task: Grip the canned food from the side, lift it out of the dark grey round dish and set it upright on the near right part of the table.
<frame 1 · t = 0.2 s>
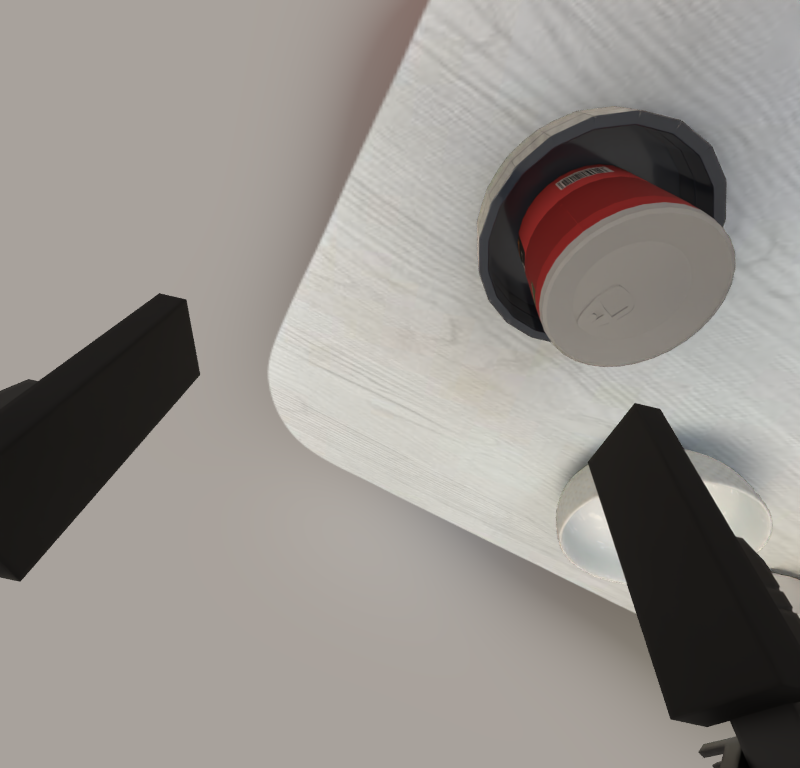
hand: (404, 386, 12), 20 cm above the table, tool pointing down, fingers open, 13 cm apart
cereal bowl: (631, 477, 40), on the table
canned food: (576, 226, 26), resting on dark grey round dish
saucepan: (782, 573, 47), on the table
dark grey round dish: (575, 226, 26), on the table
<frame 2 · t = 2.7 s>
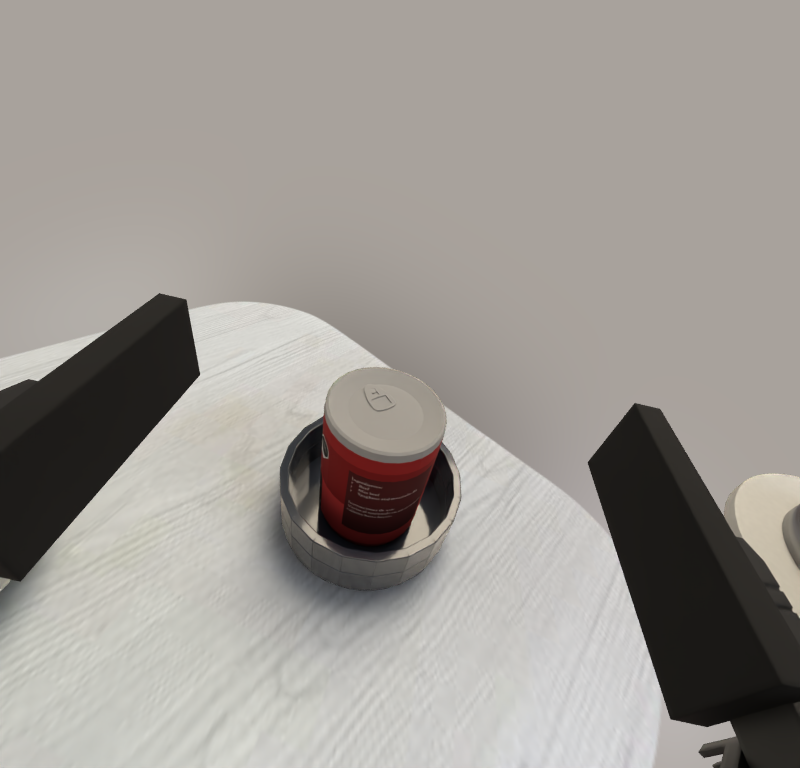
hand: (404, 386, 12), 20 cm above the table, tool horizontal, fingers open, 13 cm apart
canned food: (366, 503, 31), resting on dark grey round dish
dark grey round dish: (366, 504, 31), on the table
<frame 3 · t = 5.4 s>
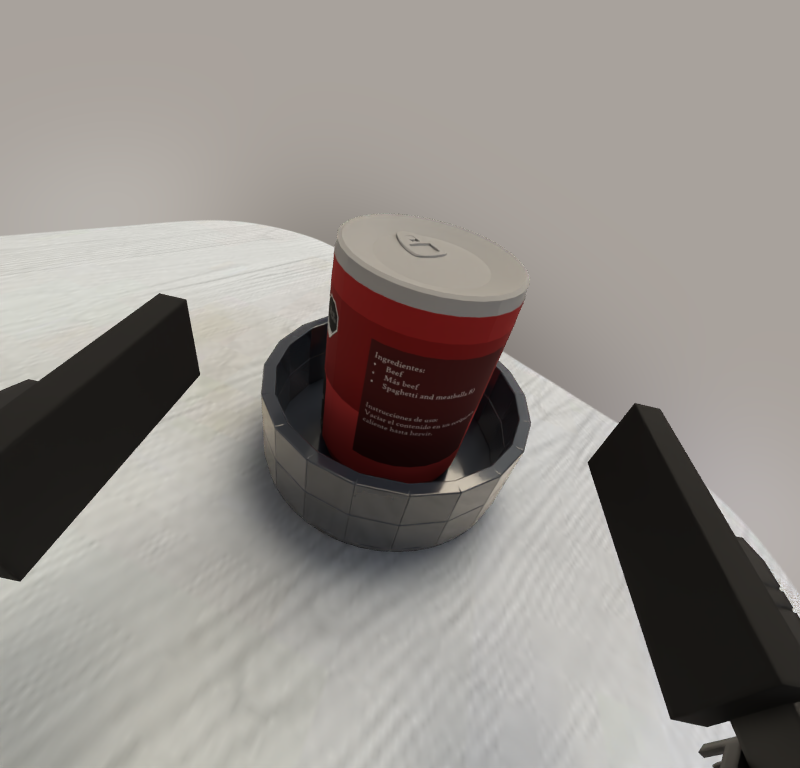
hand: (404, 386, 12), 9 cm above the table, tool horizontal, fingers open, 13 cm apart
canned food: (387, 438, 22), resting on dark grey round dish
dark grey round dish: (386, 439, 22), on the table
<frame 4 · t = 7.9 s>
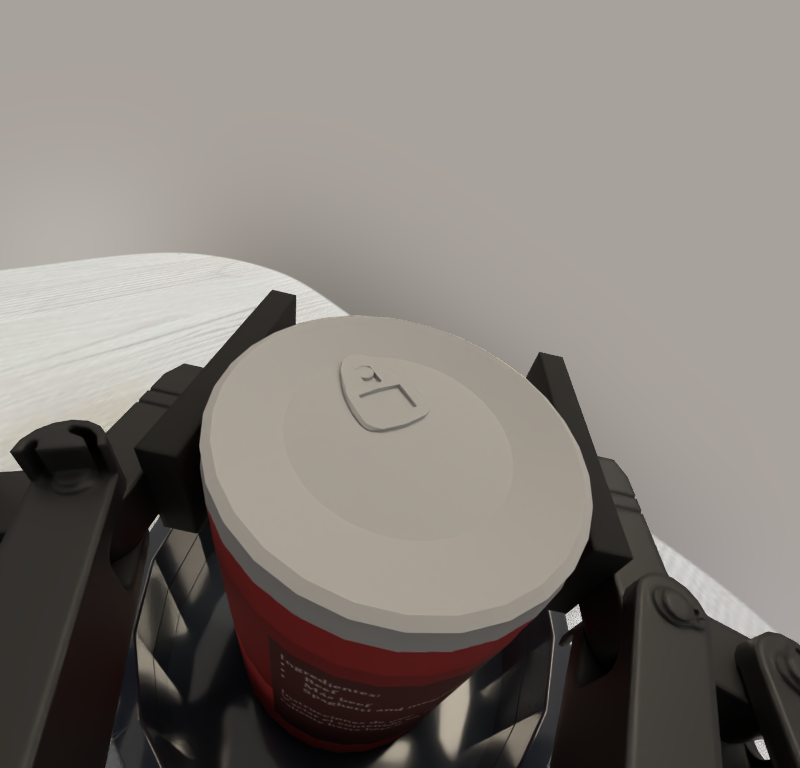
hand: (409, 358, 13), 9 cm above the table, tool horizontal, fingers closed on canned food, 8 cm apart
canned food: (348, 617, 15), resting on dark grey round dish, touching gripper
dark grey round dish: (348, 618, 15), on the table
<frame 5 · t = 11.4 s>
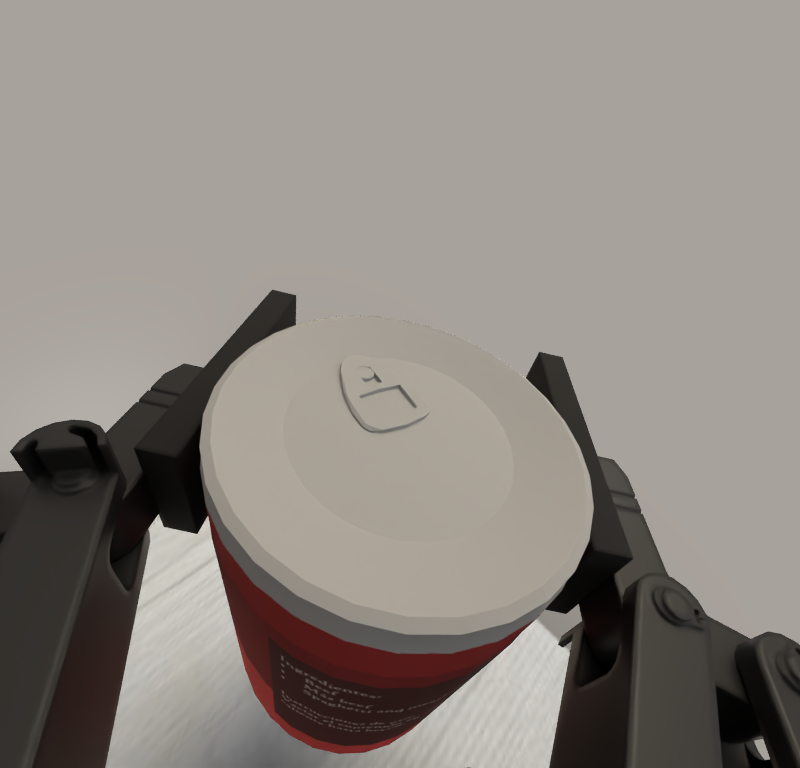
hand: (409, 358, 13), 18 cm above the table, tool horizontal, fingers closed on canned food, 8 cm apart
canned food: (348, 618, 15), point 9 cm above the table, touching gripper
when the fingers open (9 cm above the table, at t = 14.7 s): canned food stays where it is, on the table.
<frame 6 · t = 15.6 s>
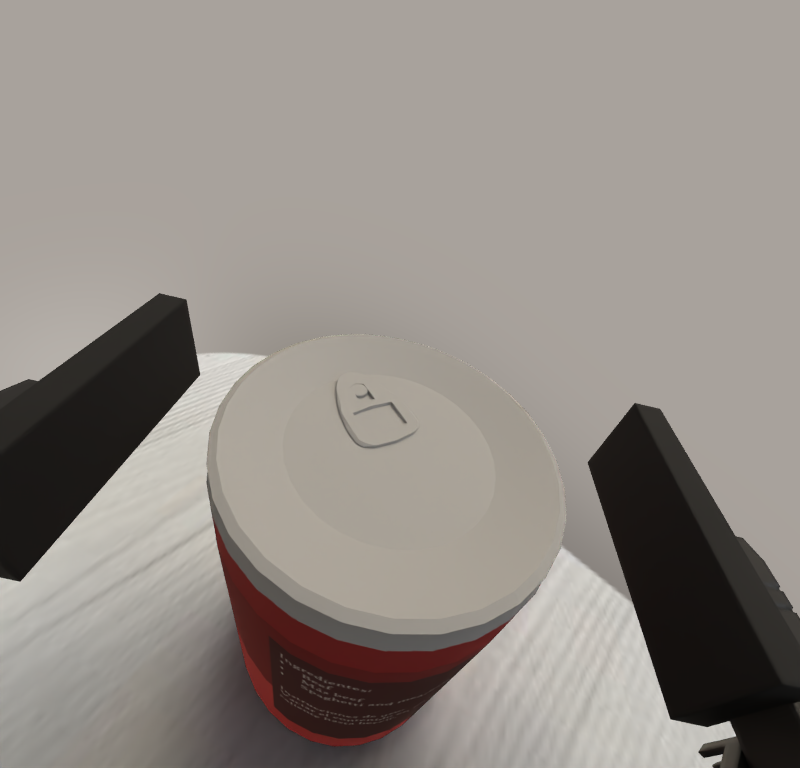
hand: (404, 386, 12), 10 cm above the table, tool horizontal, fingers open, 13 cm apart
canned food: (344, 618, 16), on the table
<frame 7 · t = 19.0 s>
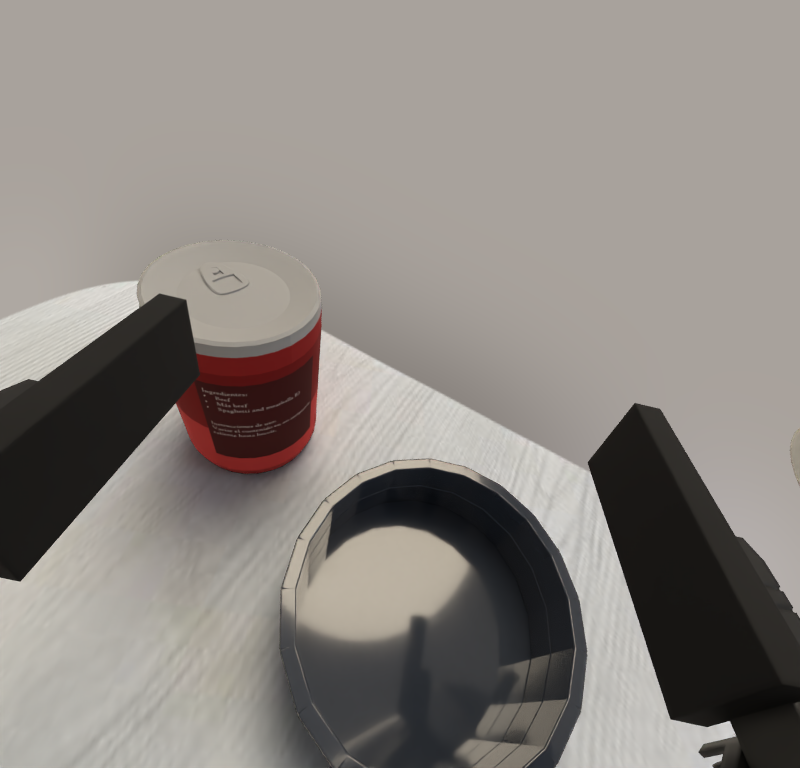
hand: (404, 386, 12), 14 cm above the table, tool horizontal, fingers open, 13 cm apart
canned food: (255, 425, 26), on the table
dark grey round dish: (416, 614, 20), on the table
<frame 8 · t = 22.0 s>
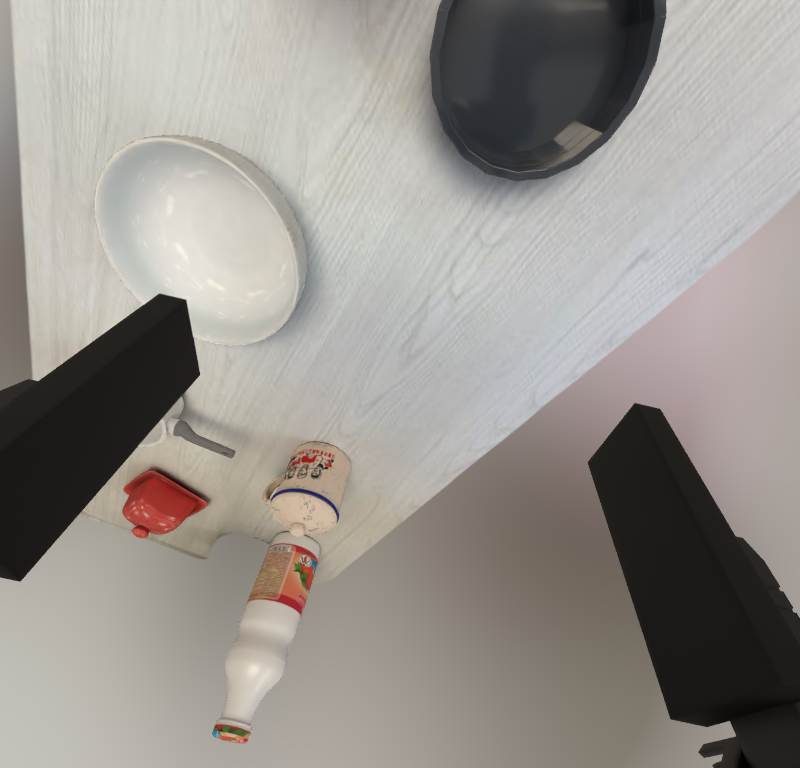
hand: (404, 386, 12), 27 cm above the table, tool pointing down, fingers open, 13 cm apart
teacup with lid: (314, 460, 58), on the table
cereal bowl: (237, 231, 37), on the table
fruit juice: (297, 543, 74), on the table
butter dish: (170, 490, 68), on the table
saucepan: (180, 398, 53), on the table
dark grey round dish: (530, 60, 27), on the table
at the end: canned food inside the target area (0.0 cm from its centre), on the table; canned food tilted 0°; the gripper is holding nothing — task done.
